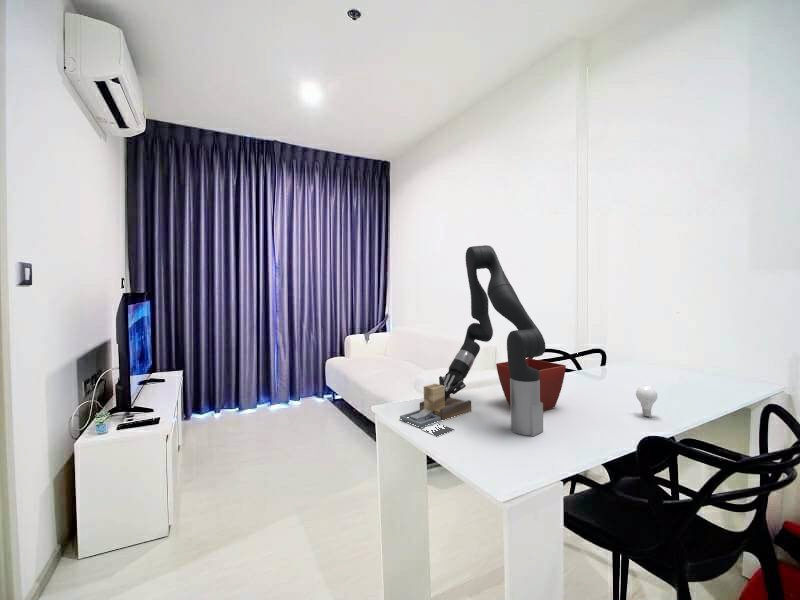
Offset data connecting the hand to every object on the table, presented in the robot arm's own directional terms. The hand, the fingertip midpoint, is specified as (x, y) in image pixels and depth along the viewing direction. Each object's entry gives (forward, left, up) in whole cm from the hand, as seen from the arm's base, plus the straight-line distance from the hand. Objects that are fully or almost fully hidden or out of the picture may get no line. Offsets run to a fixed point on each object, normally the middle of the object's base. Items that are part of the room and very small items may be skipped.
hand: (441, 400), depth 139 cm
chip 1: (0, +12, -3) cm, 13 cm away
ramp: (0, -2, -5) cm, 5 cm away
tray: (0, +11, -5) cm, 12 cm away
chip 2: (0, +8, -4) cm, 9 cm away
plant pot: (-19, -31, -5) cm, 37 cm away
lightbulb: (-53, -50, -5) cm, 73 cm away
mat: (-11, +13, -5) cm, 17 cm away
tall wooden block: (0, +4, -2) cm, 4 cm away
